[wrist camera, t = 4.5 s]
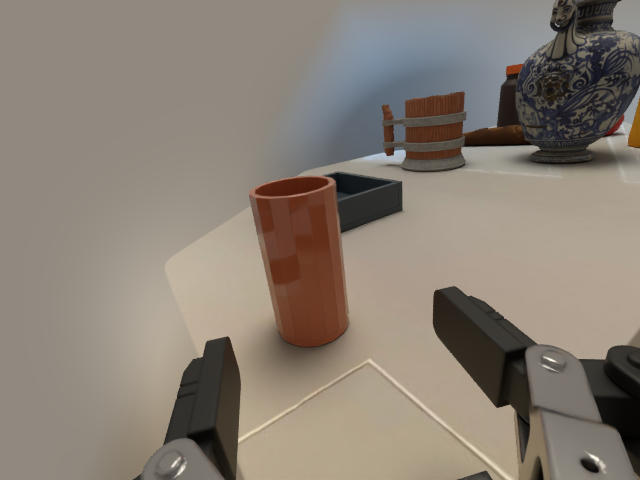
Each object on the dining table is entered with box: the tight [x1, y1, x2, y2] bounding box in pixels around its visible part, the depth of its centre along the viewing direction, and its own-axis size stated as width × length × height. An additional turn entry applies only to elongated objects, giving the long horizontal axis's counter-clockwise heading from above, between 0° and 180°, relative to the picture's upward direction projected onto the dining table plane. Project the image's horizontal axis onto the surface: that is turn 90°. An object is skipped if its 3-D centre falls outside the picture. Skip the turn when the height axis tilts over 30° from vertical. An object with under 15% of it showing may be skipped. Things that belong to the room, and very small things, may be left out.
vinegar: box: [497, 64, 523, 127], centre depth 92 cm, size 7×7×20 cm
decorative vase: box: [516, 0, 640, 163], centre depth 58 cm, size 21×19×28 cm
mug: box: [382, 92, 466, 172], centre depth 71 cm, size 14×19×15 cm
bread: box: [462, 125, 531, 146], centre depth 85 cm, size 38×5×5 cm, turn 53°
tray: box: [323, 172, 402, 232], centre depth 48 cm, size 17×16×4 cm
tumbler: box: [249, 176, 349, 347], centre depth 22 cm, size 6×6×11 cm
